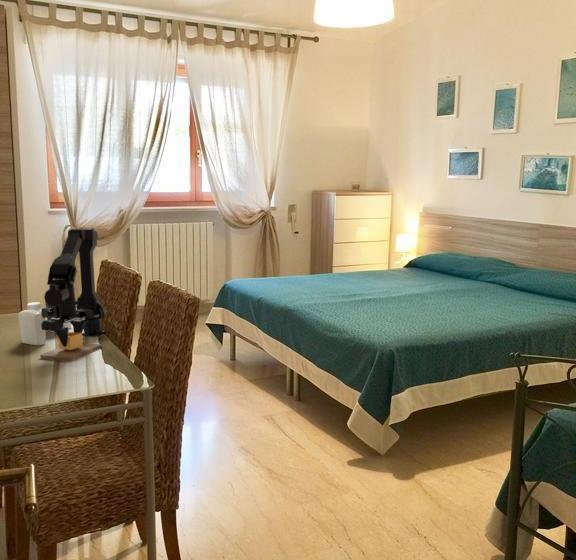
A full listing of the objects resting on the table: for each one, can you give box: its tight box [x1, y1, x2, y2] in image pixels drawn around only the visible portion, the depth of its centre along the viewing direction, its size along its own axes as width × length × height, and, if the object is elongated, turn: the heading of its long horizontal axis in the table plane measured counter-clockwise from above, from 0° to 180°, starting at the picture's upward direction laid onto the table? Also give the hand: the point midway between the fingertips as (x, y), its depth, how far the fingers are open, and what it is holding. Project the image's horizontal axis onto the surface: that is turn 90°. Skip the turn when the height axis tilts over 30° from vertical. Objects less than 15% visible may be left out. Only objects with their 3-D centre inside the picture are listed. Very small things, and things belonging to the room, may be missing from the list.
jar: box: [44, 301, 72, 333], centre depth 235 cm, size 9×8×12 cm
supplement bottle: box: [26, 301, 48, 336], centre depth 226 cm, size 7×7×13 cm
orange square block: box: [57, 331, 84, 350], centre depth 205 cm, size 5×5×4 cm
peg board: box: [39, 335, 103, 363], centre depth 205 cm, size 16×12×6 cm
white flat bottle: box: [17, 309, 47, 346], centre depth 218 cm, size 10×4×12 cm, turn 60°
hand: (71, 344), depth 205 cm, fingers closed on orange square block, 5 cm apart
